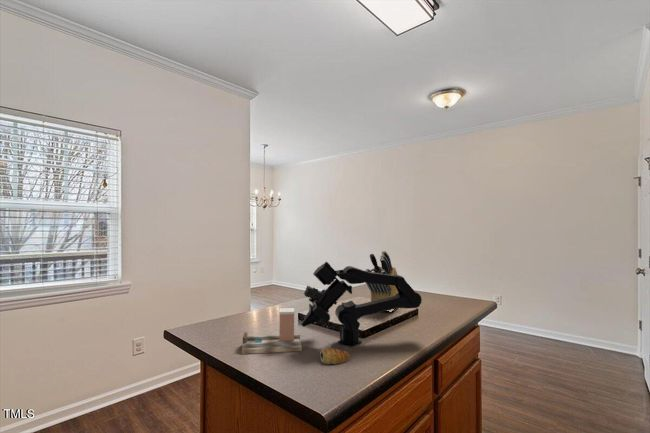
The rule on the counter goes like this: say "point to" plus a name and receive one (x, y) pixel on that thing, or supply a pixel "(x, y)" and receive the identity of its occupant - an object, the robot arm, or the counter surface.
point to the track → (269, 344)
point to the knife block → (381, 289)
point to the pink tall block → (286, 324)
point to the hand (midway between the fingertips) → (302, 325)
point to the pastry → (333, 356)
